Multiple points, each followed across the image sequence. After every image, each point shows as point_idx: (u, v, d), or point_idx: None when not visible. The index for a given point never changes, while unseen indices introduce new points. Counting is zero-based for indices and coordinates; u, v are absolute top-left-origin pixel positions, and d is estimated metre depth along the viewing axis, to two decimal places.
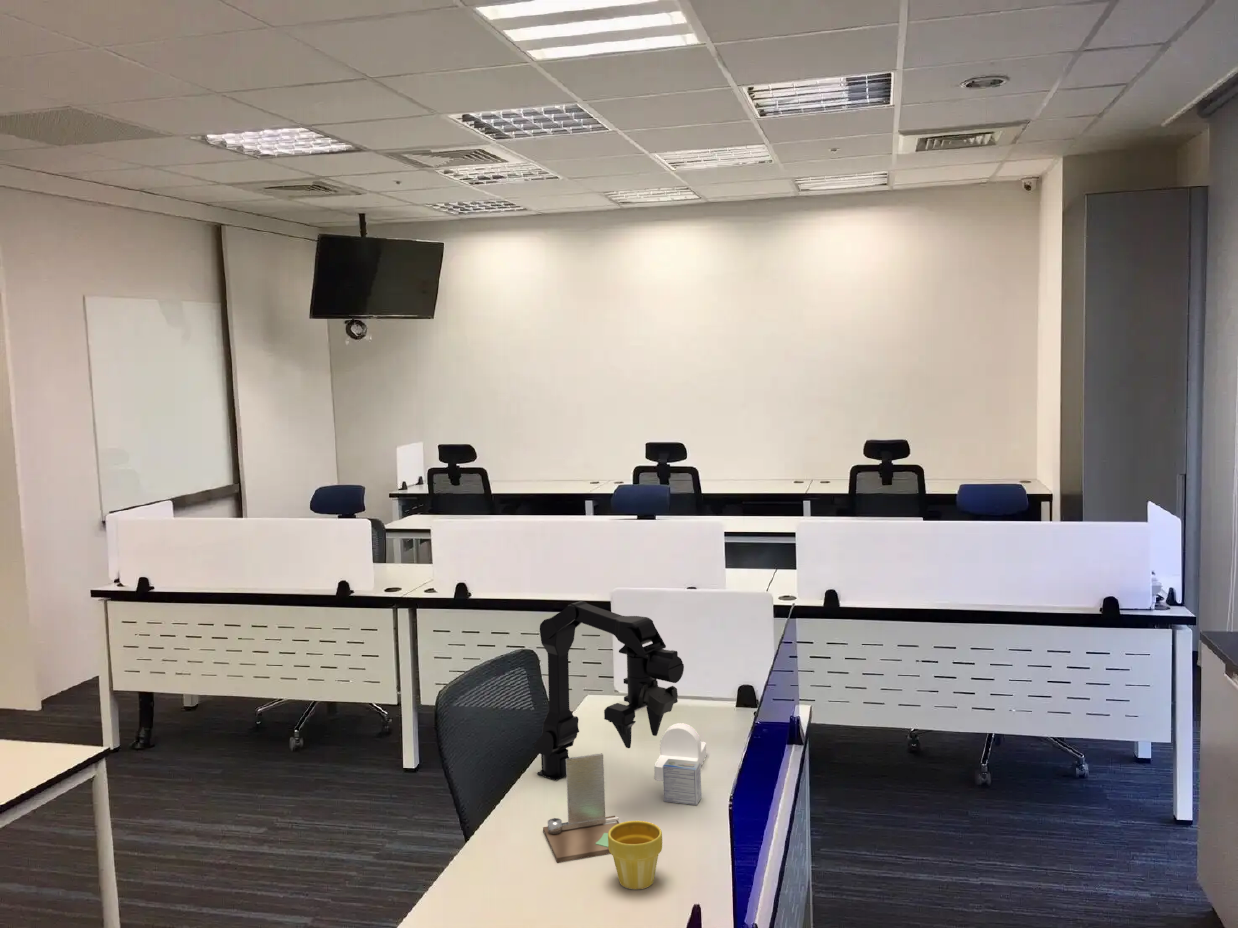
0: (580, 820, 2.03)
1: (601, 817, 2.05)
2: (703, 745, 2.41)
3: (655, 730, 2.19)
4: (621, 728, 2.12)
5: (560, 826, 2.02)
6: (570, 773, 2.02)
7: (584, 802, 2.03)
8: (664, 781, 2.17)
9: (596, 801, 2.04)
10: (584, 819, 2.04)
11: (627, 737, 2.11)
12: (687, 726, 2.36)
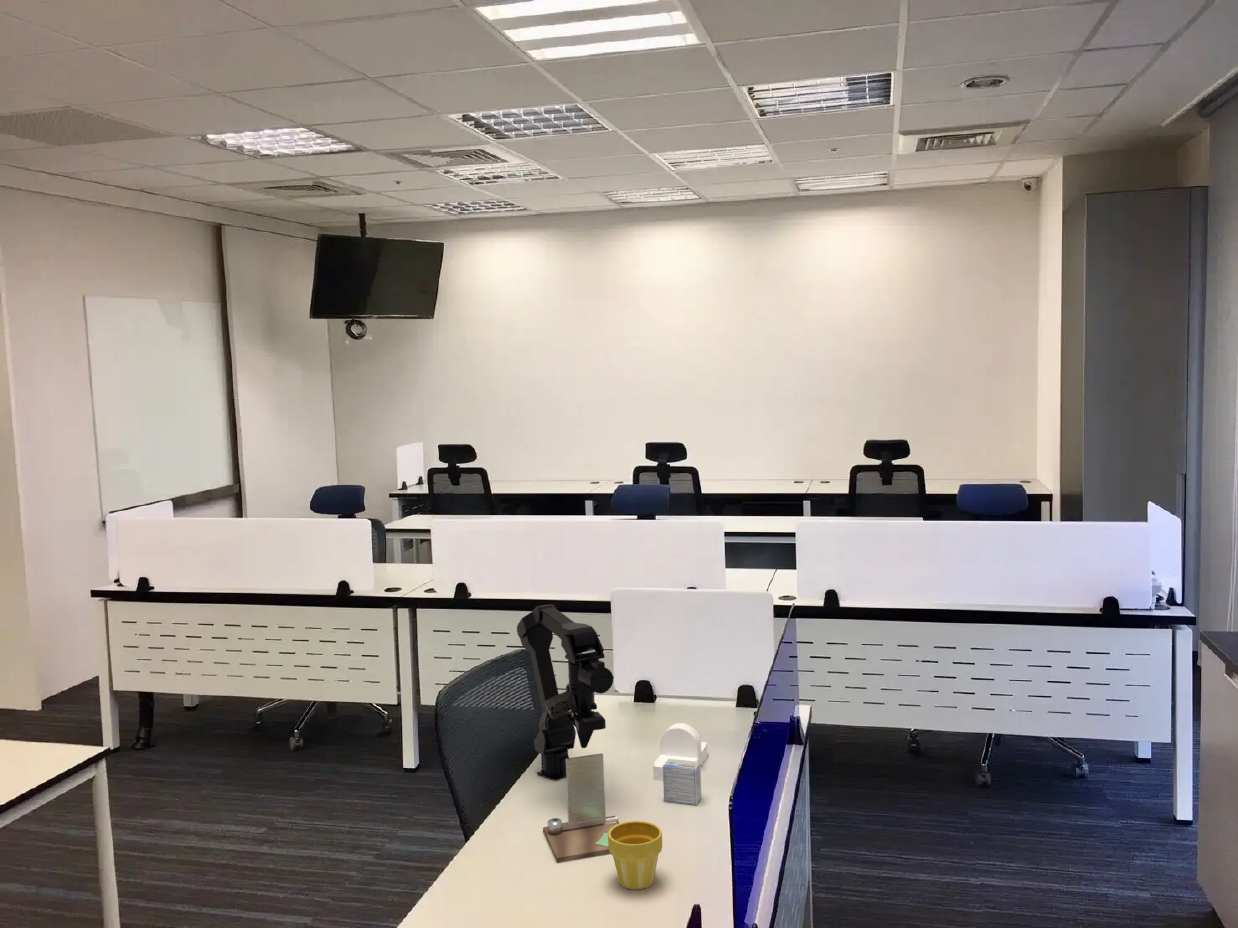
0: (580, 820, 2.03)
1: (601, 817, 2.05)
2: (704, 745, 2.41)
3: None
4: None
5: (560, 826, 2.02)
6: (570, 773, 2.02)
7: (584, 802, 2.03)
8: (664, 781, 2.17)
9: (596, 801, 2.04)
10: (584, 819, 2.04)
11: None
12: (687, 726, 2.36)
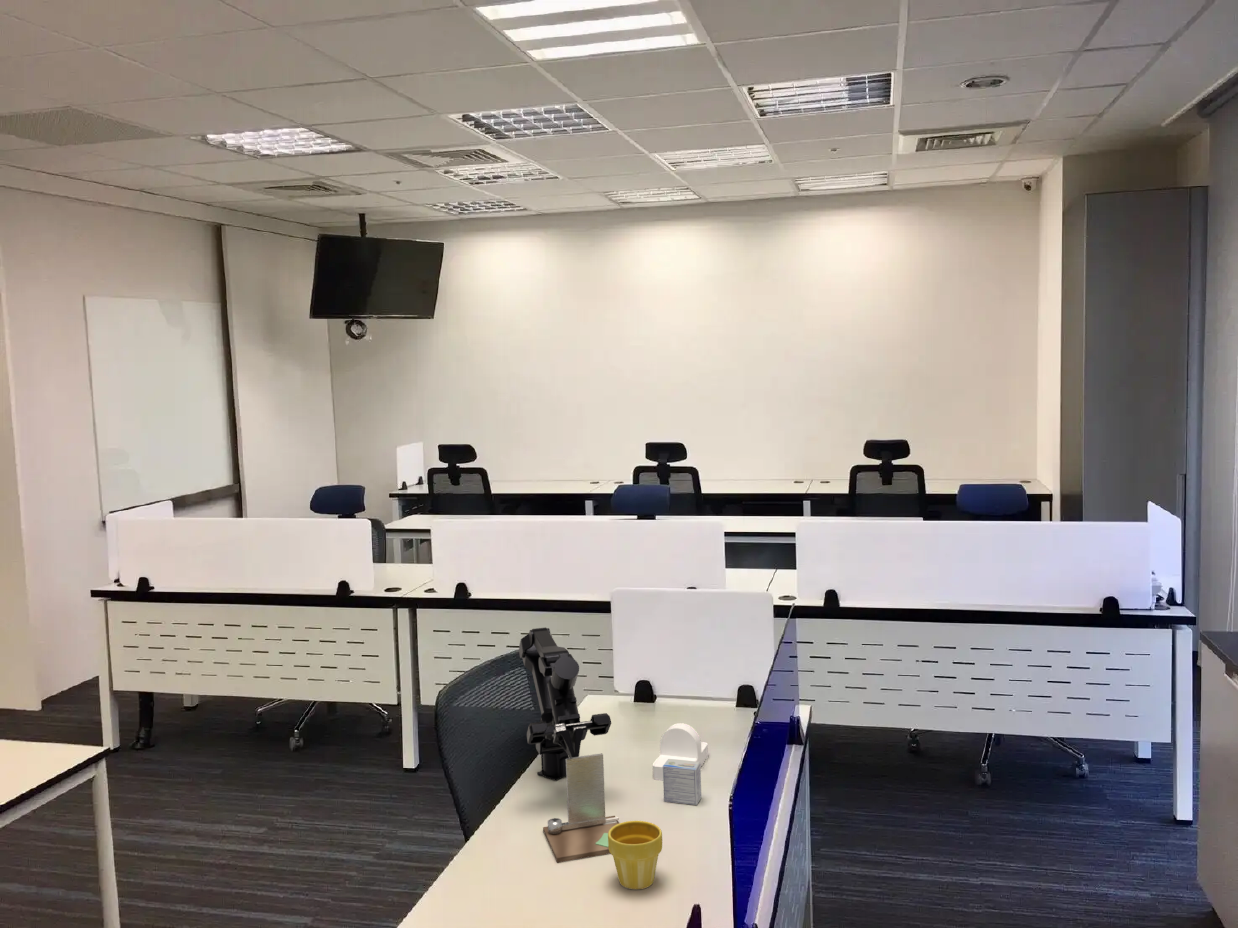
0: (580, 820, 2.03)
1: (601, 817, 2.05)
2: (704, 746, 2.41)
3: None
4: None
5: (560, 826, 2.02)
6: (570, 773, 2.02)
7: (584, 802, 2.03)
8: (664, 781, 2.17)
9: (596, 801, 2.04)
10: (584, 819, 2.04)
11: None
12: (687, 726, 2.36)
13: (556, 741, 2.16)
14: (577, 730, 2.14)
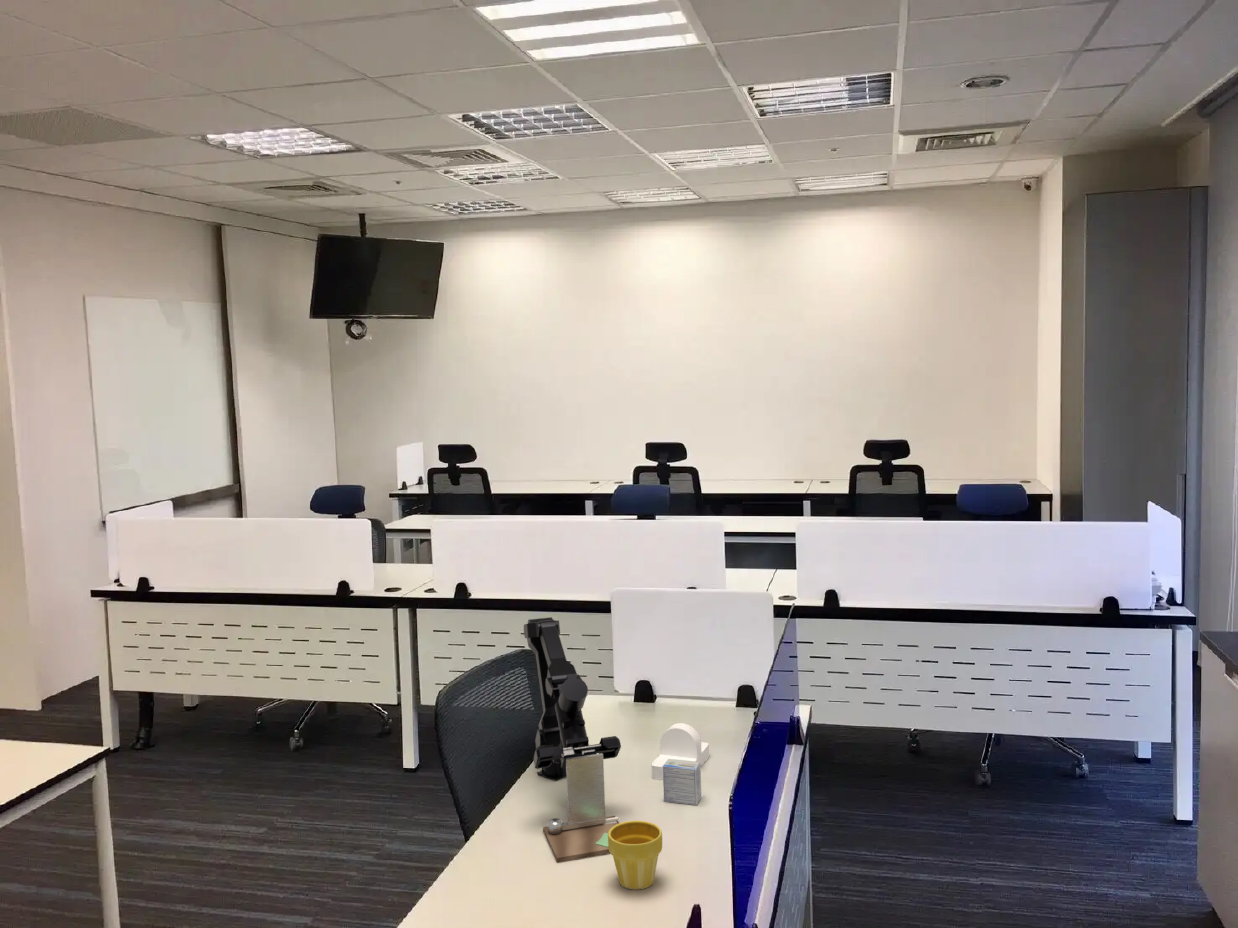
0: (580, 820, 2.03)
1: (601, 817, 2.05)
2: (705, 746, 2.41)
3: None
4: None
5: (560, 826, 2.02)
6: (570, 773, 2.02)
7: (584, 802, 2.03)
8: (664, 781, 2.17)
9: (596, 801, 2.04)
10: (584, 819, 2.04)
11: None
12: (687, 726, 2.36)
13: (564, 765, 2.08)
14: (586, 754, 2.07)
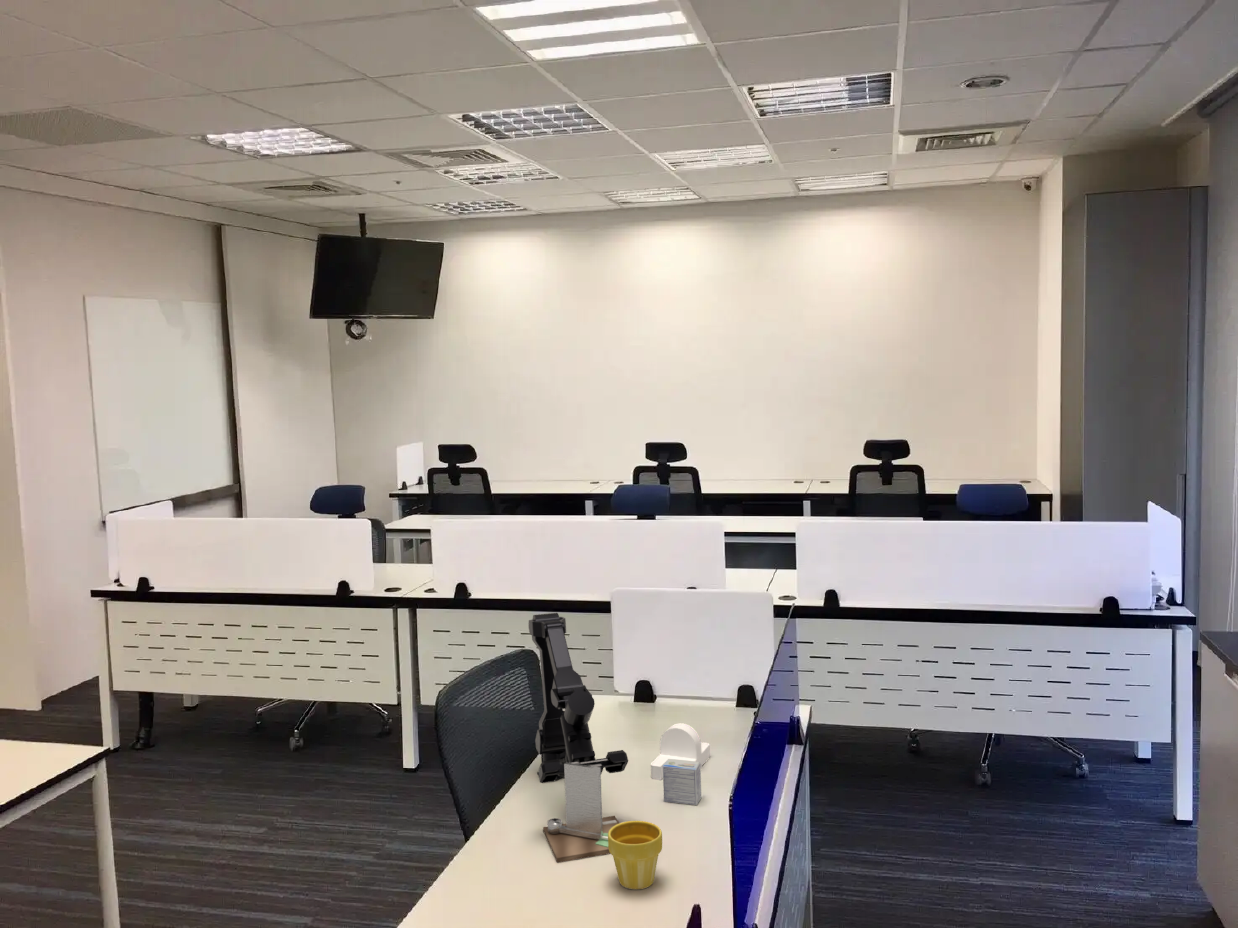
0: (577, 828, 2.00)
1: (597, 832, 1.98)
2: (706, 746, 2.40)
3: None
4: None
5: (556, 828, 2.01)
6: (567, 778, 2.00)
7: (580, 811, 1.99)
8: (664, 781, 2.17)
9: (592, 814, 1.98)
10: (580, 828, 1.99)
11: None
12: (687, 726, 2.36)
13: None
14: None
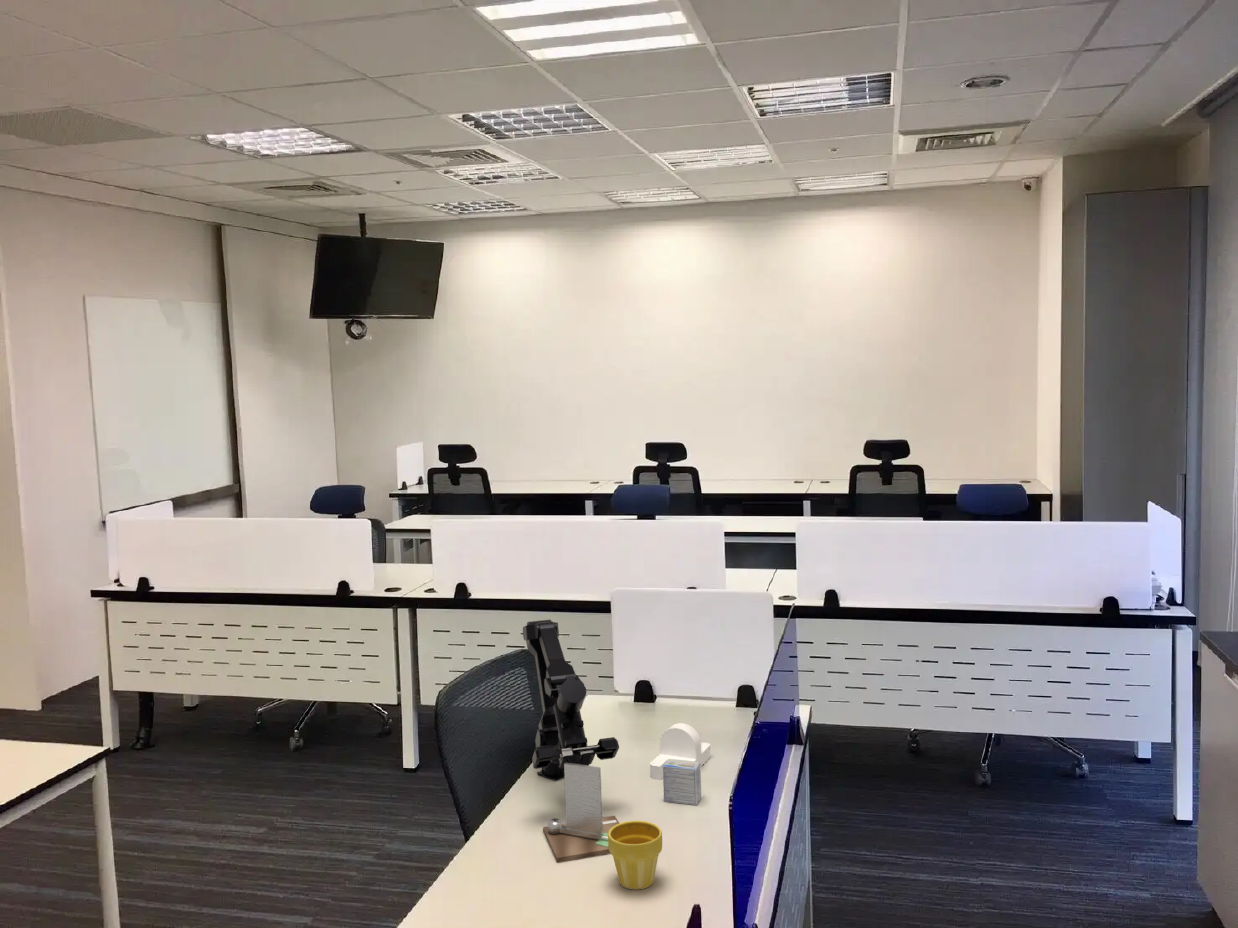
0: (577, 828, 2.00)
1: (597, 832, 1.98)
2: (706, 747, 2.40)
3: None
4: None
5: (556, 828, 2.01)
6: (567, 778, 2.00)
7: (580, 811, 1.99)
8: (664, 781, 2.17)
9: (592, 814, 1.98)
10: (580, 828, 1.99)
11: None
12: (687, 726, 2.36)
13: (562, 766, 2.10)
14: (584, 755, 2.08)
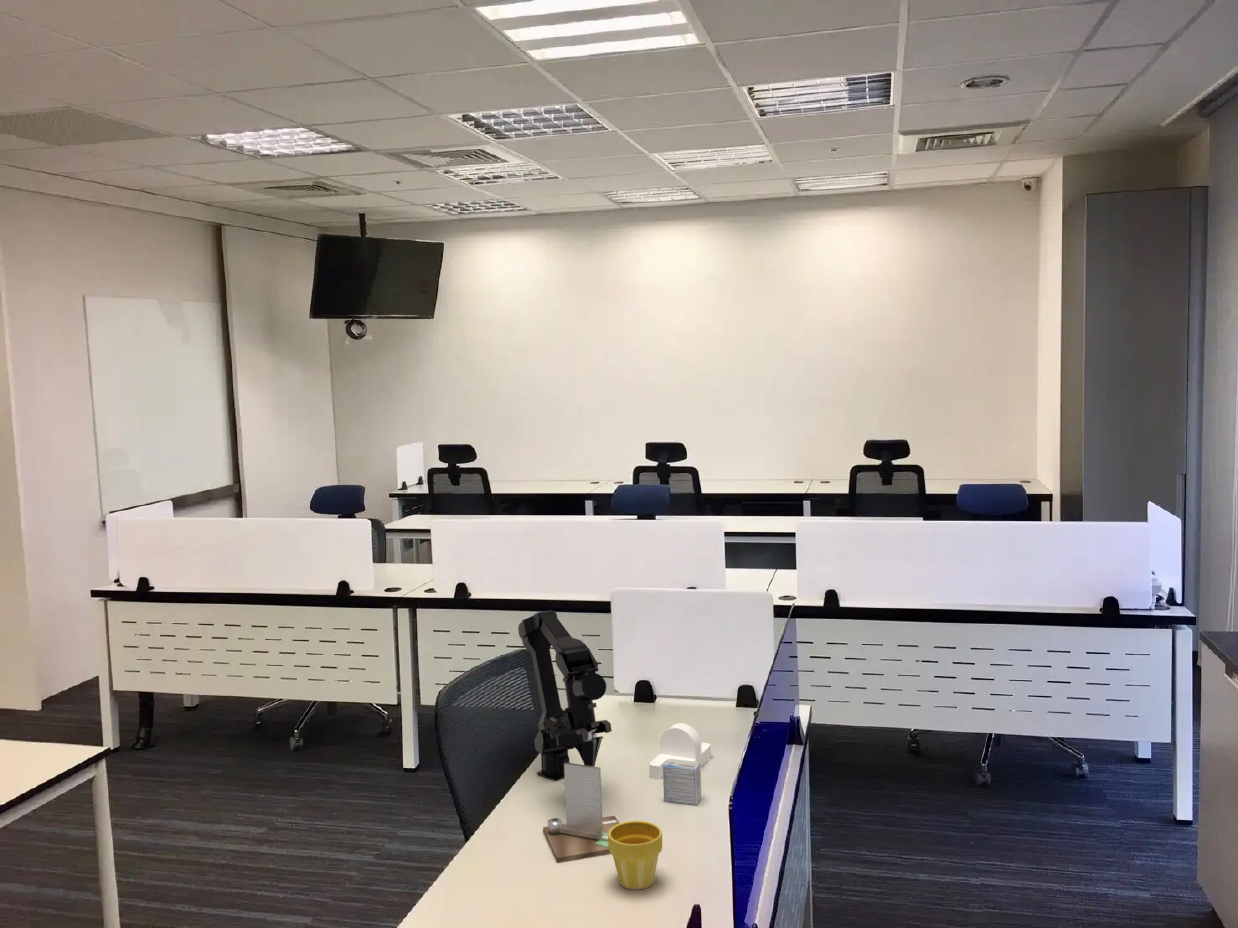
0: (577, 828, 2.00)
1: (597, 832, 1.98)
2: (707, 747, 2.40)
3: None
4: None
5: (556, 828, 2.01)
6: (567, 778, 2.00)
7: (580, 811, 1.99)
8: (664, 781, 2.17)
9: (592, 814, 1.98)
10: (580, 828, 1.99)
11: None
12: (687, 727, 2.36)
13: (575, 744, 2.12)
14: (599, 739, 2.15)
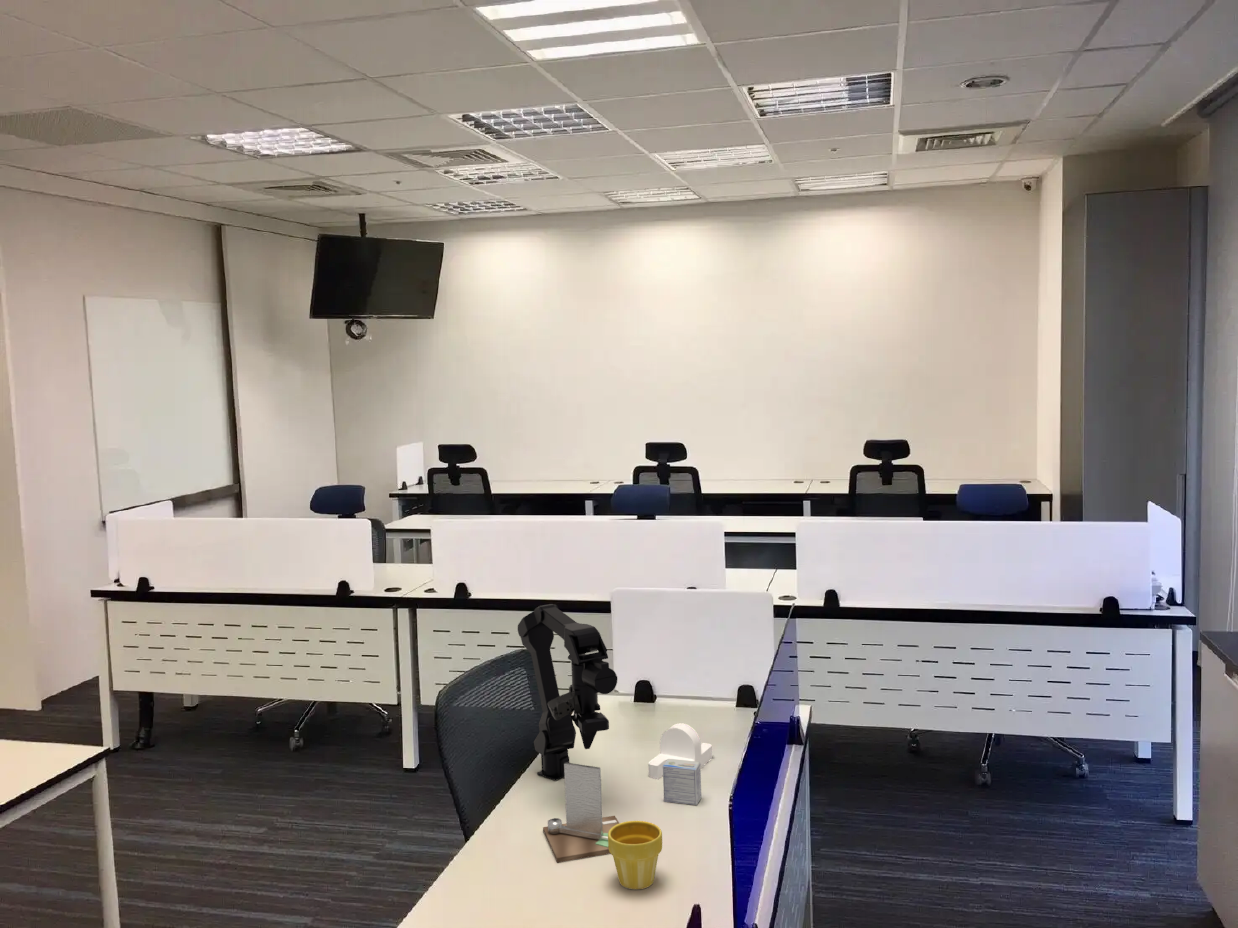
0: (577, 828, 2.00)
1: (597, 832, 1.98)
2: (707, 747, 2.40)
3: None
4: None
5: (556, 828, 2.01)
6: (567, 778, 2.00)
7: (580, 811, 1.99)
8: (664, 781, 2.17)
9: (592, 814, 1.98)
10: (580, 828, 1.99)
11: None
12: (687, 727, 2.36)
13: None
14: None
